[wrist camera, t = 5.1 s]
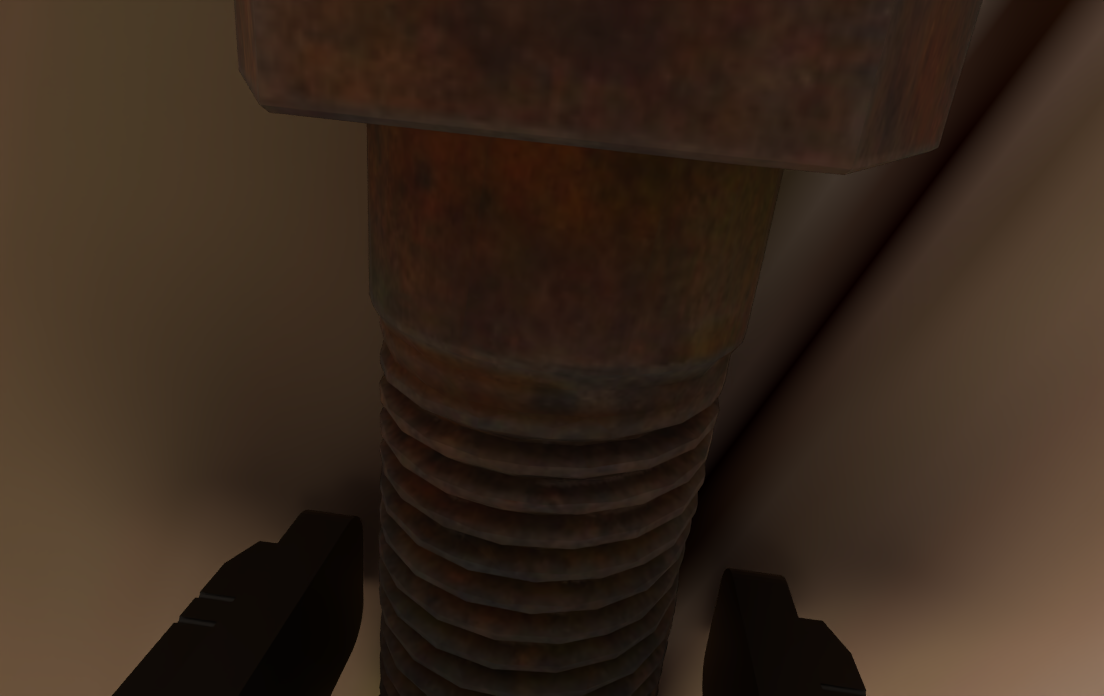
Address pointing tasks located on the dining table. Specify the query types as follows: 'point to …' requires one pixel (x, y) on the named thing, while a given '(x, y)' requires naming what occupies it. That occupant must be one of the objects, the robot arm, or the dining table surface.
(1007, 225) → the dining table surface
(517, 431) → the bolt
